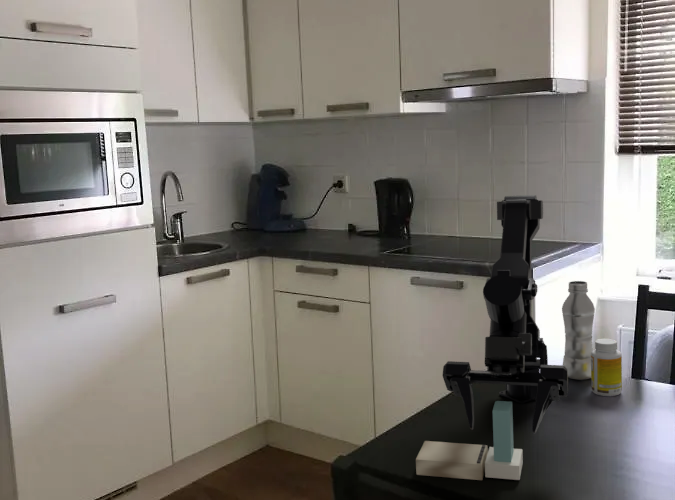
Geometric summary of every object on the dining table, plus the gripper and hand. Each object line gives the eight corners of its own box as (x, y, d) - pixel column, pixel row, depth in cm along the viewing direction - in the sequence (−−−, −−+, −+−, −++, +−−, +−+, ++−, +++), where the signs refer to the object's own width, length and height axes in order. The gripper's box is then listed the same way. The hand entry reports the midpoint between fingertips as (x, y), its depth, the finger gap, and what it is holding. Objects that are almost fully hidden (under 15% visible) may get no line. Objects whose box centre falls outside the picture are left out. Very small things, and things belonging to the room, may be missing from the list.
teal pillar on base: (485, 477, 112) (483, 412, 110) (490, 460, 117) (488, 398, 116) (519, 480, 110) (517, 414, 109) (522, 462, 116) (521, 399, 114)
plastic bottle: (595, 373, 155) (594, 279, 152) (595, 384, 149) (594, 286, 146) (563, 372, 157) (561, 279, 154) (562, 382, 151) (560, 286, 148)
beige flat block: (416, 474, 115) (415, 458, 114) (425, 455, 121) (424, 439, 121) (482, 480, 111) (481, 463, 111) (487, 460, 118) (487, 444, 118)
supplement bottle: (628, 394, 142) (628, 342, 141) (604, 399, 141) (604, 346, 139) (608, 385, 148) (608, 335, 146) (585, 390, 146) (584, 339, 144)
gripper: (442, 312, 117) (431, 404, 108) (566, 313, 111) (565, 411, 102) (452, 346, 125) (443, 434, 117) (568, 349, 120) (568, 442, 111)
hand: (502, 430), depth 111 cm, fingers open, 9 cm apart
